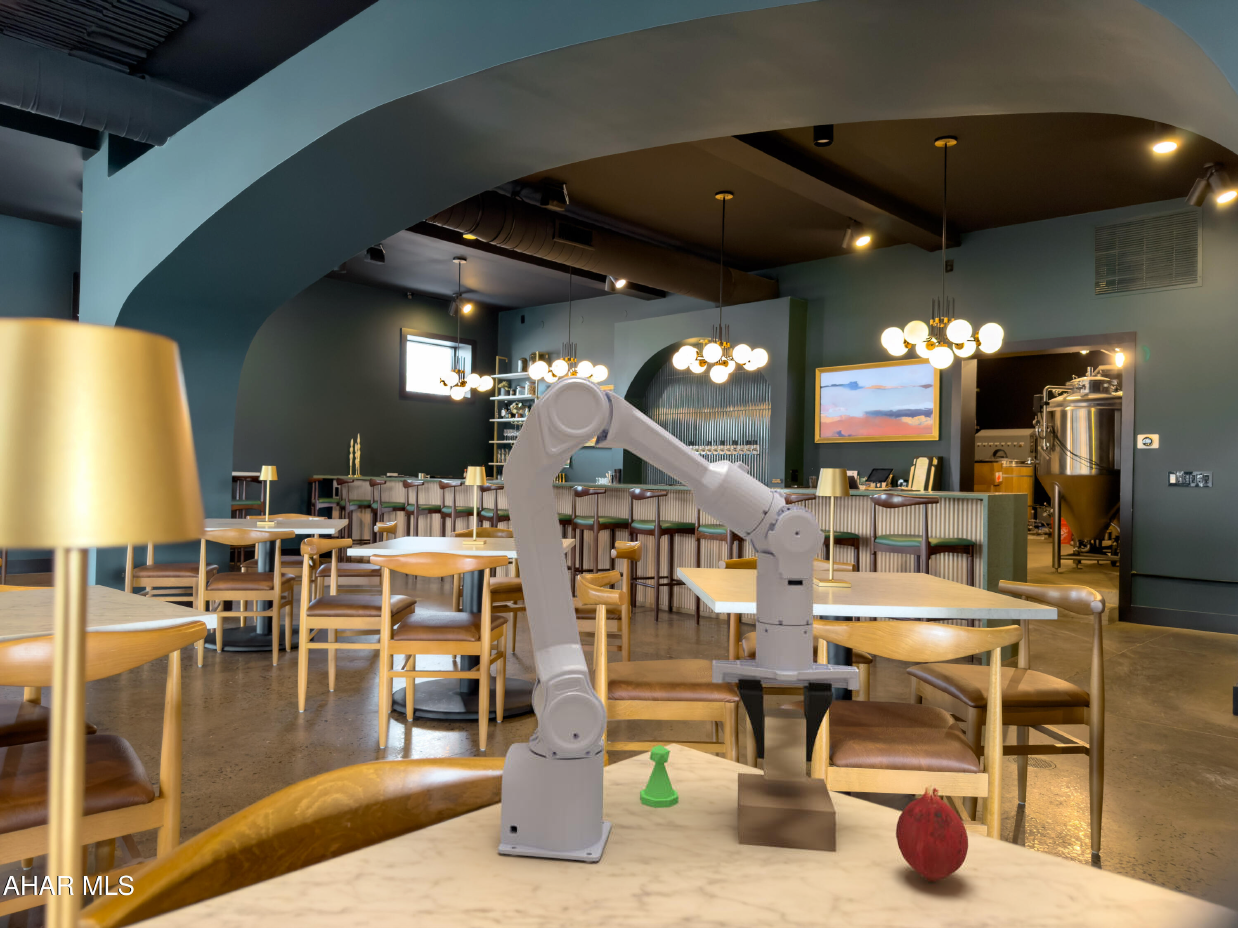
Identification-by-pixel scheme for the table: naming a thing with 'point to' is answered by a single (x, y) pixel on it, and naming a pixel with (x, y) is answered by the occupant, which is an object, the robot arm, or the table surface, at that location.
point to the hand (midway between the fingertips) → (783, 757)
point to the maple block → (784, 744)
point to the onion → (932, 837)
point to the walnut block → (785, 813)
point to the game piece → (659, 782)
